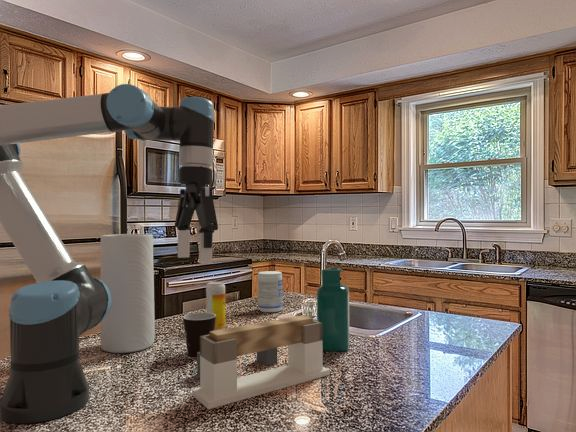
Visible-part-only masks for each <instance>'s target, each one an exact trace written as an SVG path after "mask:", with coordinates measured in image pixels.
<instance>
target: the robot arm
mask: <svg viewBox="0 0 576 432" xmlns="http://www.w3.org/2000/svg"><path fill="white" fill-rule="evenodd" d="M214 114H215V113H214V104H213V102H212V101H211V100H210V99H207V98H205V97H201V96H185V97H183V98H182V99H181V100H180V104H179V106H160V105H158V104H157V103H156V102H155V101H154V100H153V99H152V98H151V97H150V95H149V94H148V93H147V92H146V91H145V90H143V89H141V88H139V87H138V86H136V85H133V84H129V83H122V84H118V85H116V86H114V88H112V89H111V90H110V91H109V92H105V93H98V94H90V95H89V94H87V95H80V96H72V97H64V98H63V97H61V98H55V99H54V98H53V99H46V100H37V101H28V102H18V103H10V104H9V103H8V104H0V224H1V226H2V228H3V230H4V232H6V235H7V236H8V237H9V240H10V241H11V242H12V244H13V246H14V247H15V249H16V250H17V252H18V254H19V255H20V257H21V259H22V260H23V262H24V263H25V265H26V267H27V269H28V270H29V272H30V273H31V275H32V277H33V278H34V280H35V283H30V284H27V285H26V286H22V287H20V288H18V289H17V290H15V291H14V293H12V295H11V297H10V305H9V310H8V317H9V339H10V340H9V344H10V345H9V346H10V347H9V348H10V350H9V351H10V352H9V353H10V355H9V356H10V372H9V375H8V379H7V381H6V385H5V388H4V390H3V392H2V396H1V399H0V419H1V420H2V421H4V422H6V423H10V424H34V423H42V422H47V421H51V420H54V419H60V418H62V417H65V416H67V415H70V414H72V413H74V412H76V411H77V410H79V409H81V408H82V407H84V406H85V405H87V403H88V402H89V400H90V385H89V382H88V380H87V378H86V375H85V372H84V370H83V366H82V365H81V362H80V336H81V335H83V334H84V333H86V332H88V331H90V330H92V329H94V327H96V326H98V325H99V324H100V322H101V321H102V320H103V319H104V318H105V316H106V315H107V313H108V312H109V309H110V306H111V294H110V291H109V289H108V287H107V286H106V284H105V283H104V282H102V281H101V280H100V278H97V277H94V276H92V274H91V273H90V271H89V269H88V267H87V266H86V264H85V263H81V262H77V261H75V260H74V259H73V256H72V255H71V253H70V252H69V250H68V249H67V247H66V245H65V244H64V242H63V241H62V239H61V237H60V236H59V234H58V232H57V231H56V229H55V228H54V226H53V224H52V223H51V221H50V219H49V218H48V216H47V215H46V213H45V211H44V210H43V208H42V206H41V205H40V203H39V202H38V200H37V199H36V197H35V195H34V194H33V192H32V190H31V189H30V187H29V185H28V184H27V182H26V181H25V179H24V177H23V175H22V174H21V172H22V170H23V168H24V163H23V162H22V159H21V157H20V155H21V153H22V152H21V146H20V144H23V143H34V142H40V141H47V140H48V141H49V140H56V139H64V138H65V139H66V138H73V137H81V136H89V135H97V134H105V133H113V132H114V133H115V132H116V133H117V132H125V134H126V137H128V139H131V140H141V141H177V142H178V141H179V147H178V165H179V166H181V167H179V168H178V183H179V184H181V185H185V188H180V190H179V199H178V206H177V210H176V211H177V212H176V216H175V222H174V227H175V228H176V229H177V258H179V259H180V258H190V254H191V253H190V250H191V249H190V248H191V230H192V228H191V226H190V225H191V222H192V219H193V216H194V214H195V213H196V217H197V220H198V223H199V226H200V228H199V230H198V233H199V240H198V241H199V245H198V247H199V248H198V264H202V265H203V264H212V263H213V247H214V246H213V243H214V241H213V239H214V238H213V237H214V236H213V235H214V233H215V231H218V229H219V224H218V219H217V215H216V214H217V213H216V209H215V203H214V195H213V193H214V192H213V187H212V186H211V185H212V184H213V177H214V176H213V169H212V168H211V167H212V166H213V163H214V162H213V160H214V158H215V154H214V131H215V129H214V127H215V125H214V124H215V120H214V119H215V117H214ZM210 186H211V187H210Z"/></svg>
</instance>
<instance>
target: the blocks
mask: <svg viewBox="0 0 576 432" xmlns="http://www.w3.org/2000/svg"><path fill="white" fill-rule="evenodd" d="M256 361H258V362H259V363H261V364H263V365H265V366H267V367H268V366H272V365H276V364H278V348H274V349H269V350H264V351H260V352H256ZM196 374H197V375H198V376H199V377H200V352H197V358H196Z"/></svg>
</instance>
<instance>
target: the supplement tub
mask: <svg viewBox="0 0 576 432" xmlns="http://www.w3.org/2000/svg"><path fill="white" fill-rule="evenodd" d="M283 299H284V297H283V274H282V271H278V270H276V271H275V270H272V271H271V270H270V271H267V270H266V271H259V272H258V273H257V309H258V311H259V310H260V311H259V312H262V313H277V312H280V311H283V308H284V306H283V303H284V302H283V301H284V300H283Z"/></svg>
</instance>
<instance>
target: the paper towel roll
mask: <svg viewBox="0 0 576 432" xmlns="http://www.w3.org/2000/svg"><path fill="white" fill-rule="evenodd" d="M153 237H154V235H153V234H151V233H120V234H119V233H118V234H116V233H115V234H103V235H100V278H99V280H101V281H102V282H104V283H105V284H106V286H107V287H108V289H109V291H110V294H111V306H110V309H109V312H108V313H107V315H106V316H105V318H104V319H103V320H102V321H101V322H100V323H99V324H100V325H99V327H100V347H101V349H102V350H103V351H105V353H106V352H107V353H113V354H128V353H134V352H139V351H143V350H146V349H148V348H150V347H151V346H152V345H153V344H154V343H155V335H156V333H155V332H156V331H155V325H156V323H155V322H156V321H155V320H156V319H155V273H154V238H153Z"/></svg>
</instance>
